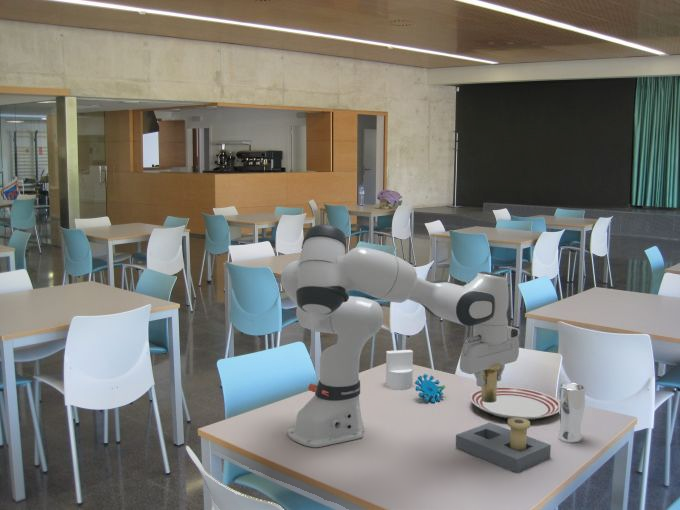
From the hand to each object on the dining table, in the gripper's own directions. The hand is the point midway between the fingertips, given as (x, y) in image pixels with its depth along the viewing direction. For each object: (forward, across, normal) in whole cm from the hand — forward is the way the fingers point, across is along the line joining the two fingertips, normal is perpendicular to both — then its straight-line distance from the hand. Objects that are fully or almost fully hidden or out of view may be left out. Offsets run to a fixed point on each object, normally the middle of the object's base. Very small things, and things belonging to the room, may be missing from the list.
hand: (488, 383), depth 188 cm
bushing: (+5, 0, 0) cm, 5 cm away
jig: (+18, 0, -5) cm, 18 cm away
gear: (+18, +15, +36) cm, 43 cm away
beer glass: (+18, +22, -11) cm, 30 cm away
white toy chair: (+18, +17, +52) cm, 58 cm away
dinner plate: (+18, +29, +13) cm, 37 cm away
